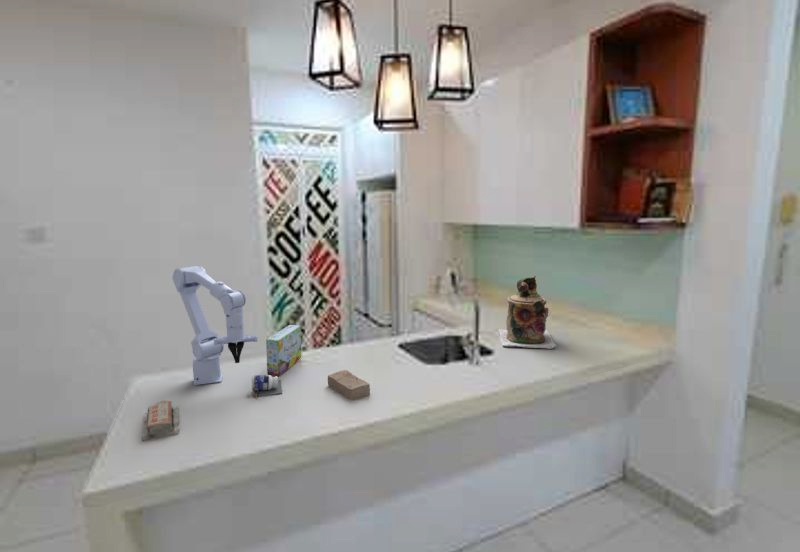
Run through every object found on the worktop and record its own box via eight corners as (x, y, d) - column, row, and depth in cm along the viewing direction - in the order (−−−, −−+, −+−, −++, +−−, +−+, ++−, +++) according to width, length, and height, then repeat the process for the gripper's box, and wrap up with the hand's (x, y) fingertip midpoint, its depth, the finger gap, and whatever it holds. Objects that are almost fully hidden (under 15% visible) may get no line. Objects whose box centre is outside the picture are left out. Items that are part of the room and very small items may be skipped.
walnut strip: (254, 397, 157) (254, 395, 157) (254, 383, 169) (254, 381, 169) (257, 397, 158) (257, 394, 158) (257, 383, 169) (257, 381, 169)
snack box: (280, 377, 175) (278, 340, 172) (266, 376, 176) (264, 339, 173) (302, 358, 195) (301, 324, 192) (290, 357, 196) (288, 323, 193)
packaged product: (178, 420, 133) (140, 427, 129) (180, 435, 134) (141, 443, 129) (177, 396, 149) (143, 402, 144) (179, 409, 150) (145, 416, 145)
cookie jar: (497, 332, 231) (499, 270, 226) (547, 333, 228) (550, 271, 222) (501, 348, 207) (504, 279, 201) (557, 350, 204) (561, 280, 198)
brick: (371, 394, 160) (371, 382, 159) (351, 401, 155) (351, 388, 154) (345, 380, 172) (345, 368, 172) (326, 386, 167) (326, 374, 166)
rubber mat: (258, 396, 158) (258, 395, 158) (258, 383, 169) (258, 382, 169) (282, 393, 160) (282, 392, 160) (280, 380, 171) (280, 379, 171)
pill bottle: (252, 372, 162) (277, 371, 165) (251, 384, 164) (276, 383, 167) (251, 381, 157) (278, 380, 160) (251, 393, 160) (277, 392, 162)
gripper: (211, 330, 154) (214, 368, 157) (256, 327, 158) (258, 363, 161) (213, 324, 161) (216, 361, 163) (256, 321, 165) (258, 357, 167)
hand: (237, 362), depth 162 cm, fingers closed
